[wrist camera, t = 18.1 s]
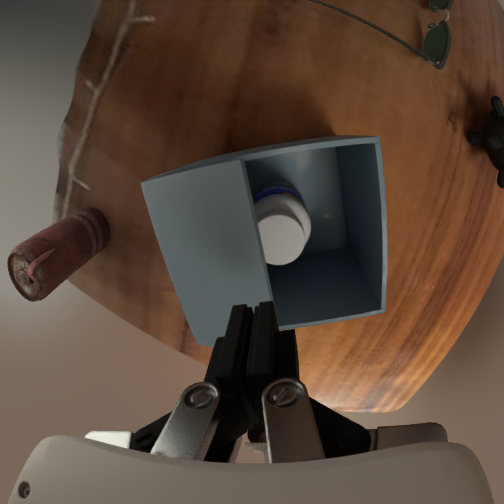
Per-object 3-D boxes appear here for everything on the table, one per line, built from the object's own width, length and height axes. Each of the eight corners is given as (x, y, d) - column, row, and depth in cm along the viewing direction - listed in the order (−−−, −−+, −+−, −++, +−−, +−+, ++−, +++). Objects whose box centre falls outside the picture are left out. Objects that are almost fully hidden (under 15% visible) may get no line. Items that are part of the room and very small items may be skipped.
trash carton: (224, 268, 32) (199, 337, 21) (197, 160, 28) (145, 179, 16) (350, 248, 30) (385, 312, 19) (336, 135, 25) (379, 136, 14)
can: (119, 230, 32) (48, 285, 19) (96, 257, 34) (33, 314, 21) (90, 196, 30) (12, 235, 17) (70, 226, 32) (1, 271, 19)
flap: (199, 340, 21) (196, 343, 20) (144, 181, 16) (140, 182, 16) (285, 357, 17) (283, 361, 17) (244, 158, 12) (240, 159, 12)
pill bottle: (306, 184, 27) (321, 207, 18) (300, 233, 29) (310, 276, 21) (254, 178, 28) (243, 200, 19) (250, 228, 30) (239, 270, 21)
